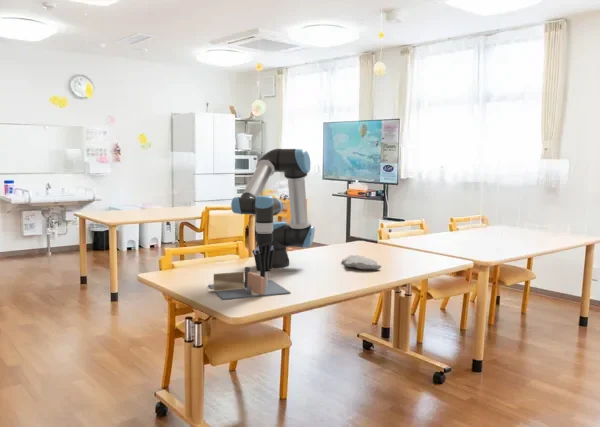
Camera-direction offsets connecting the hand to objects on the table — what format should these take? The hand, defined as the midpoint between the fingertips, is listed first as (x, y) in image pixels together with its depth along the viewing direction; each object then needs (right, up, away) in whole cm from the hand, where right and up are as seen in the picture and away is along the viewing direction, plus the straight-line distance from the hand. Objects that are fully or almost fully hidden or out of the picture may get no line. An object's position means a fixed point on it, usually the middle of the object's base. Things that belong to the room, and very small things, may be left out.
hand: (264, 286), depth 225 cm
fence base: (-14, -2, +4) cm, 15 cm away
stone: (+46, +2, +60) cm, 76 cm away
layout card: (-7, -2, +5) cm, 9 cm away
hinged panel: (-4, -2, -1) cm, 4 cm away
